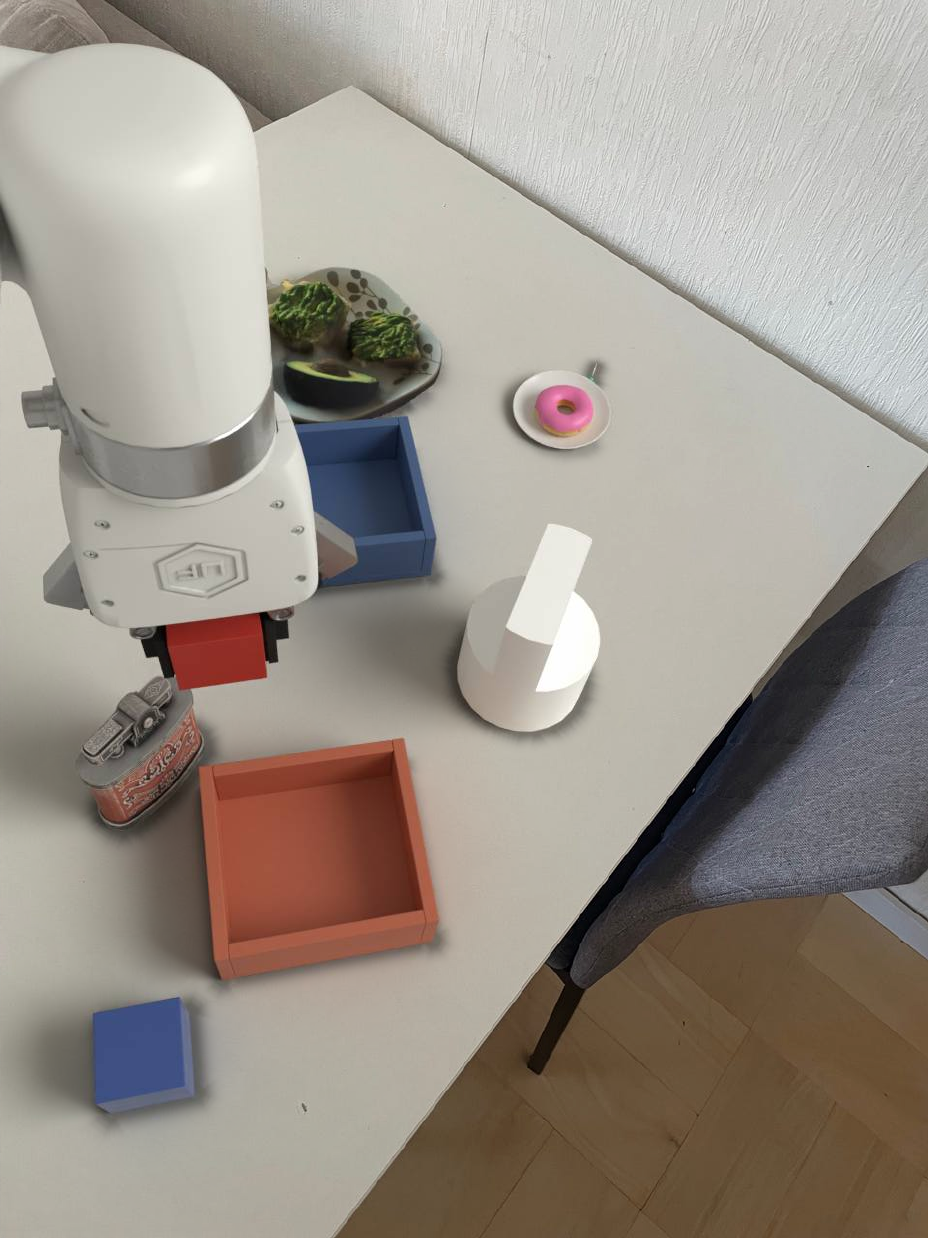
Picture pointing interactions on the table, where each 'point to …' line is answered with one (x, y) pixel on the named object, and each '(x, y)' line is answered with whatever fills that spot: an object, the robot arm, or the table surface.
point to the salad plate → (347, 346)
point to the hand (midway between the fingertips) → (219, 644)
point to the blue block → (142, 1055)
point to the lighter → (142, 753)
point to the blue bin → (371, 495)
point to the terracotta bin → (314, 858)
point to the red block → (217, 651)
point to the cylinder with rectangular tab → (531, 640)
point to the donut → (561, 409)
